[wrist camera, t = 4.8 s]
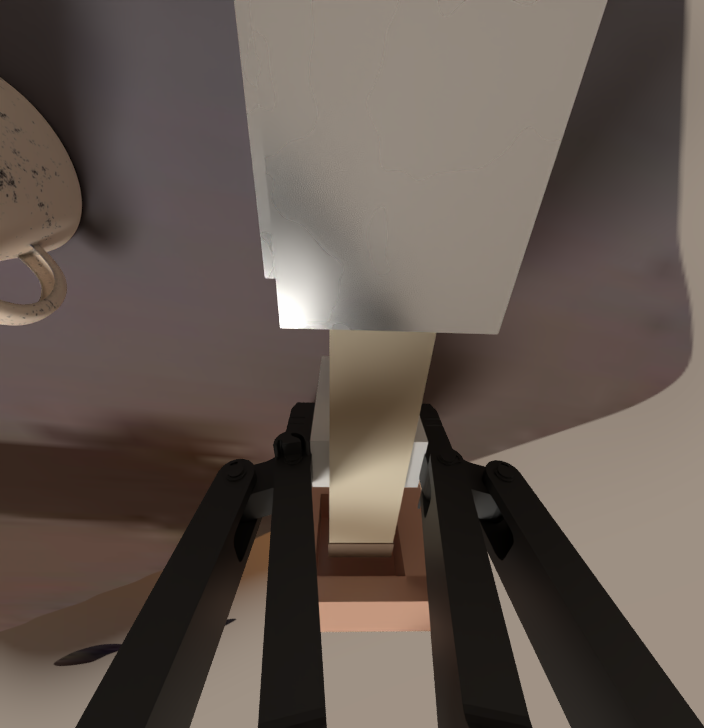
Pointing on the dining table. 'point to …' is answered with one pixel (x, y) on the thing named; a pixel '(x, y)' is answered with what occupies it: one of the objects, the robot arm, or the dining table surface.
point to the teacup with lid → (34, 202)
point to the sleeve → (405, 151)
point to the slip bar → (372, 433)
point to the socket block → (373, 576)
